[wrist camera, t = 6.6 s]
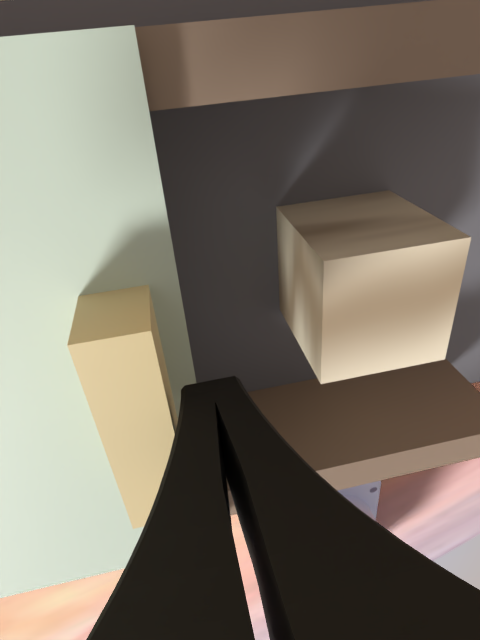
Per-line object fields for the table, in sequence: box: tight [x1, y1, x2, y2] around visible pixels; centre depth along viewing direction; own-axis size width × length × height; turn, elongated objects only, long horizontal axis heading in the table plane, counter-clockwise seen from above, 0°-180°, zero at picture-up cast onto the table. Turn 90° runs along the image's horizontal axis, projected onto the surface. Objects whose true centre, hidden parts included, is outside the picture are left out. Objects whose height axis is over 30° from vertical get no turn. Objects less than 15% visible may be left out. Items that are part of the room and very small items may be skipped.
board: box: [0, 0, 480, 515], centre depth 16 cm, size 18×38×6 cm, turn 95°
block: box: [276, 190, 471, 384], centre depth 16 cm, size 4×4×5 cm
